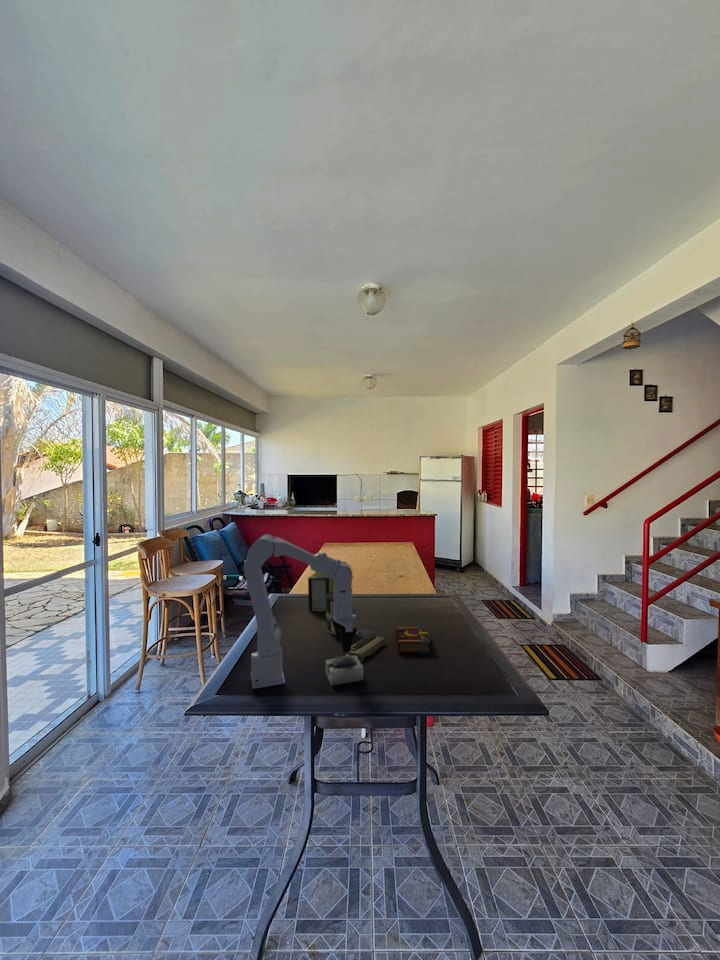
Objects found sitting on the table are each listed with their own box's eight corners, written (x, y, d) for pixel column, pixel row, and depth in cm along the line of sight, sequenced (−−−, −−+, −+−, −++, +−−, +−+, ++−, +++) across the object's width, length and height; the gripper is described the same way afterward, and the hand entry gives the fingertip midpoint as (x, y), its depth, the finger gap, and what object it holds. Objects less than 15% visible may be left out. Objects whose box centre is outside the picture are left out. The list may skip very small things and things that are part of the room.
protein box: (339, 601, 192) (339, 570, 192) (329, 612, 177) (329, 578, 177) (319, 600, 195) (319, 569, 194) (308, 611, 180) (307, 577, 180)
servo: (332, 679, 119) (332, 660, 119) (330, 674, 122) (329, 655, 122) (356, 675, 121) (356, 656, 121) (353, 670, 124) (353, 652, 124)
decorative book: (397, 654, 136) (397, 640, 136) (395, 635, 152) (394, 622, 152) (430, 654, 136) (430, 640, 136) (424, 635, 152) (424, 622, 152)
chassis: (331, 685, 116) (331, 672, 116) (325, 672, 124) (325, 659, 124) (363, 679, 119) (363, 666, 119) (356, 667, 127) (355, 655, 127)
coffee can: (320, 630, 157) (320, 595, 157) (336, 622, 165) (336, 589, 165) (341, 636, 151) (340, 600, 151) (356, 628, 159) (356, 593, 159)
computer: (366, 641, 148) (366, 632, 148) (385, 646, 143) (385, 637, 143) (341, 657, 135) (341, 648, 135) (361, 663, 131) (361, 653, 130)
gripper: (362, 608, 115) (362, 654, 116) (349, 594, 129) (349, 635, 130) (339, 611, 113) (339, 658, 114) (328, 596, 127) (328, 638, 128)
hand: (343, 646), depth 122 cm, fingers open, 7 cm apart
